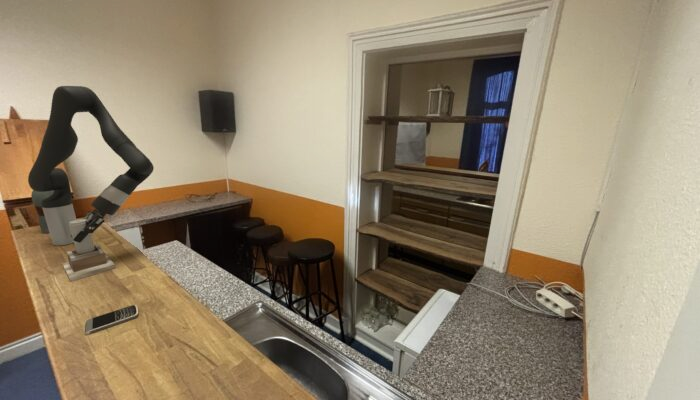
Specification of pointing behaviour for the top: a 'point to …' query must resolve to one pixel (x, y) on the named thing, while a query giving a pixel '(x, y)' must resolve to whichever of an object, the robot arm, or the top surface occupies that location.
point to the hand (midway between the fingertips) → (75, 239)
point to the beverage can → (87, 242)
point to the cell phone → (110, 319)
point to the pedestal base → (88, 271)
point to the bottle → (36, 200)
